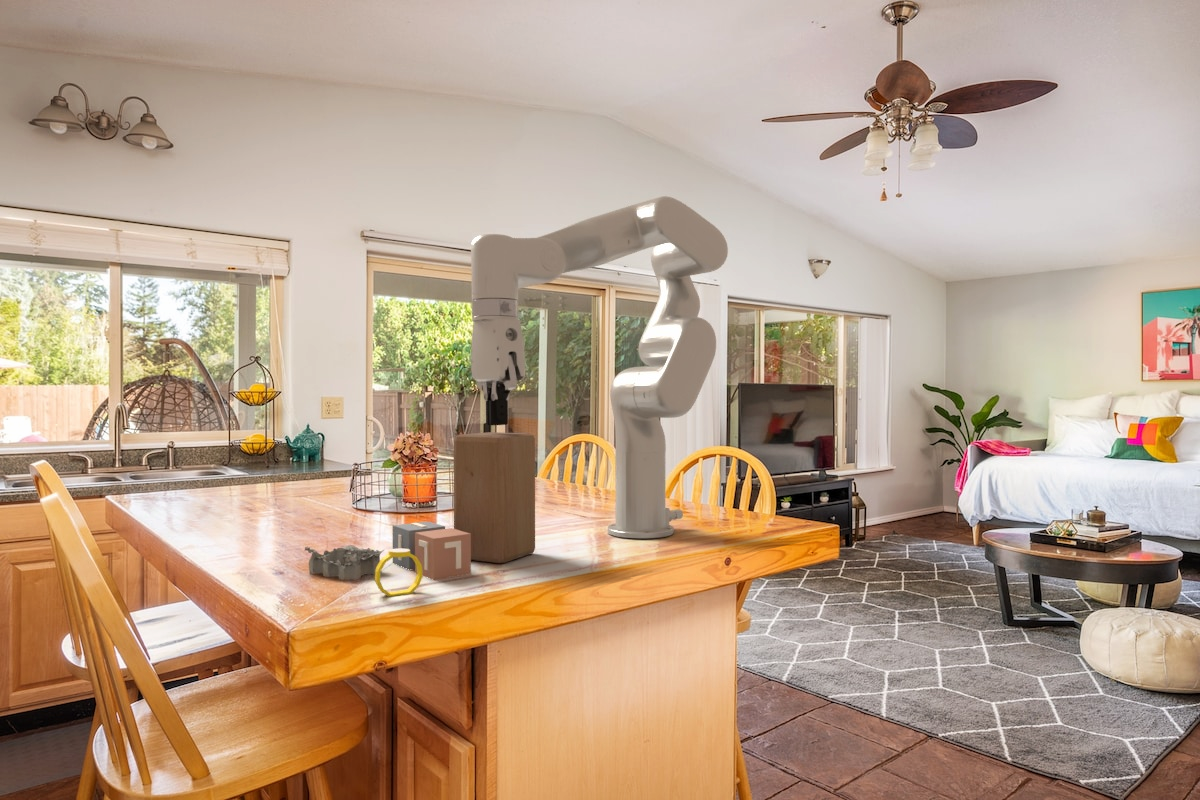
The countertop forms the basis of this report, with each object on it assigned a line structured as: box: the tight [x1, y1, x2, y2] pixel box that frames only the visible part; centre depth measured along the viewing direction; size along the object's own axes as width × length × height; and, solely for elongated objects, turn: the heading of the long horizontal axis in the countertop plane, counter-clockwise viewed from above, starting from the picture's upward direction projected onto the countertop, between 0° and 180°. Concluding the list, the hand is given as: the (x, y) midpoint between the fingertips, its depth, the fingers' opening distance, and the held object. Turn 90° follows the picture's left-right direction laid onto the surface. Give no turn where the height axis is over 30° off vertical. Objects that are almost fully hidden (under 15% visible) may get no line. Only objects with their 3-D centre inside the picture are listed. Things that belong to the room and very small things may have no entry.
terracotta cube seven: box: [414, 527, 472, 581], centre depth 111 cm, size 6×6×6 cm
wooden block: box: [453, 431, 536, 564], centre depth 122 cm, size 10×10×20 cm
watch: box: [374, 548, 423, 597], centre depth 99 cm, size 6×3×6 cm, turn 121°
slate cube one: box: [392, 521, 446, 571], centre depth 117 cm, size 6×6×6 cm
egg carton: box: [304, 544, 385, 581], centre depth 112 cm, size 11×8×4 cm
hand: (497, 424), depth 122 cm, fingers closed
